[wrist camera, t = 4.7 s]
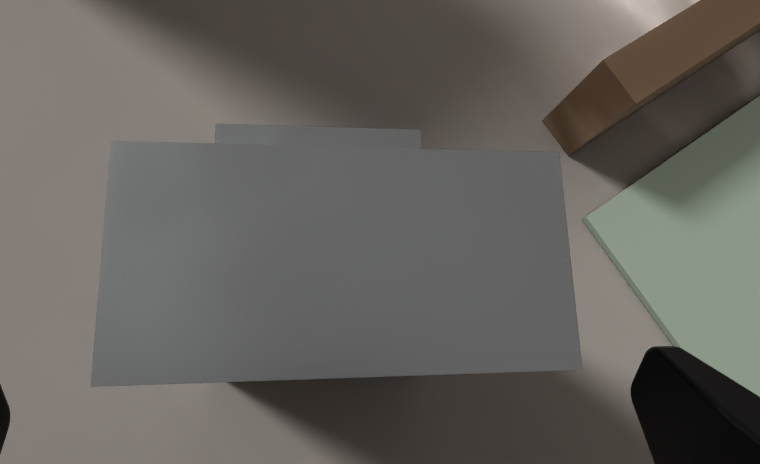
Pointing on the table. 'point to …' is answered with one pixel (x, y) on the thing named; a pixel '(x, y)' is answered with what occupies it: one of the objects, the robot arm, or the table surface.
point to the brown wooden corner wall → (651, 68)
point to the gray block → (330, 259)
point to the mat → (697, 245)
